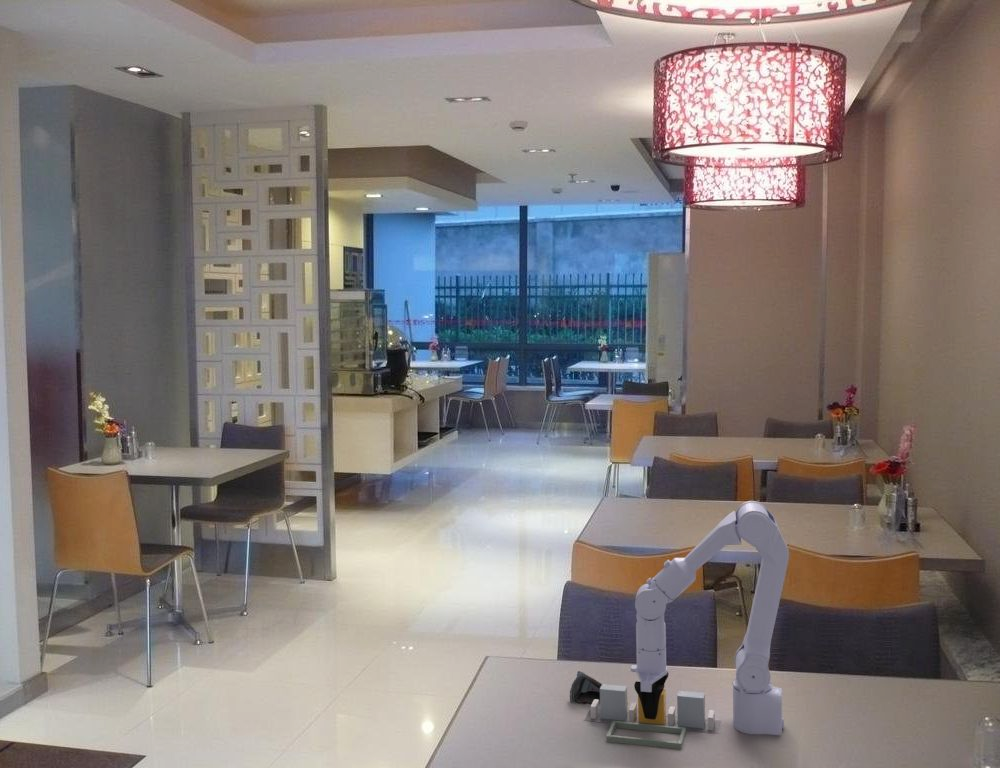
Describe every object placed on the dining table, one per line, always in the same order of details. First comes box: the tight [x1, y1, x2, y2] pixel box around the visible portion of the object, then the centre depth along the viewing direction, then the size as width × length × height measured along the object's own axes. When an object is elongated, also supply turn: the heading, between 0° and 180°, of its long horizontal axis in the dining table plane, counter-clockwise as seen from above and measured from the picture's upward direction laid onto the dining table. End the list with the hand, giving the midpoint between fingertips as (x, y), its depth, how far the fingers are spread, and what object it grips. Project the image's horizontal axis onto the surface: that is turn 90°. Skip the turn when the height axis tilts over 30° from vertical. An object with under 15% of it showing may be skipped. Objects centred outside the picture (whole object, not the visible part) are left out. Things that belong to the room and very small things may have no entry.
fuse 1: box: [599, 683, 629, 721], centre depth 201 cm, size 5×3×6 cm, turn 73°
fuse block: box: [583, 698, 722, 735], centre depth 199 cm, size 26×6×4 cm, turn 73°
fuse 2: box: [676, 690, 706, 728], centre depth 197 cm, size 5×3×6 cm, turn 73°
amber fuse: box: [637, 689, 667, 725], centre depth 199 cm, size 5×3×6 cm, turn 73°
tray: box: [605, 721, 687, 750], centre depth 192 cm, size 14×7×2 cm, turn 73°
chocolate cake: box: [569, 671, 629, 707], centre depth 211 cm, size 10×7×12 cm
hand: (652, 713), depth 199 cm, fingers open, 4 cm apart
